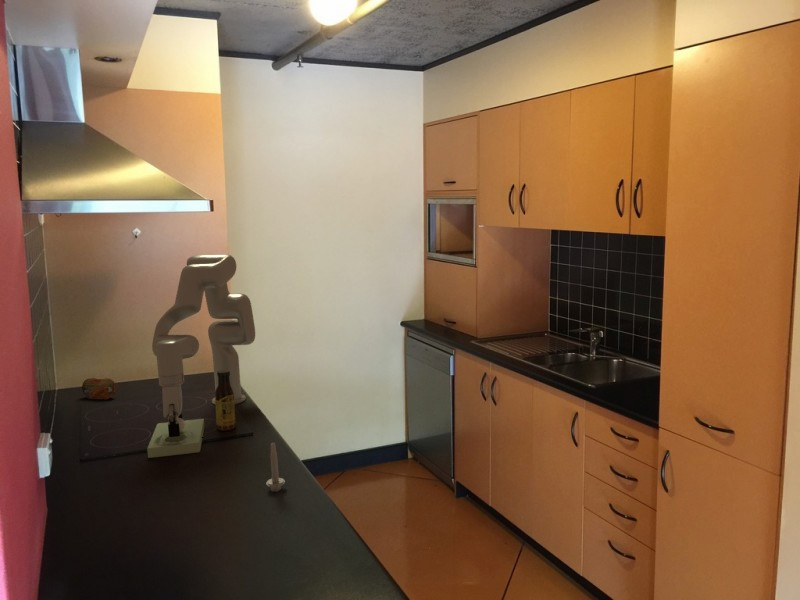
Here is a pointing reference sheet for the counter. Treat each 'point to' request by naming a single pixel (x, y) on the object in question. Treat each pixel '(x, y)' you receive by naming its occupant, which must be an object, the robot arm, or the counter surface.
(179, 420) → the ball
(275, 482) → the screw
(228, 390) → the sauce bottle
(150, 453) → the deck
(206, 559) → the counter surface
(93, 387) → the tin
